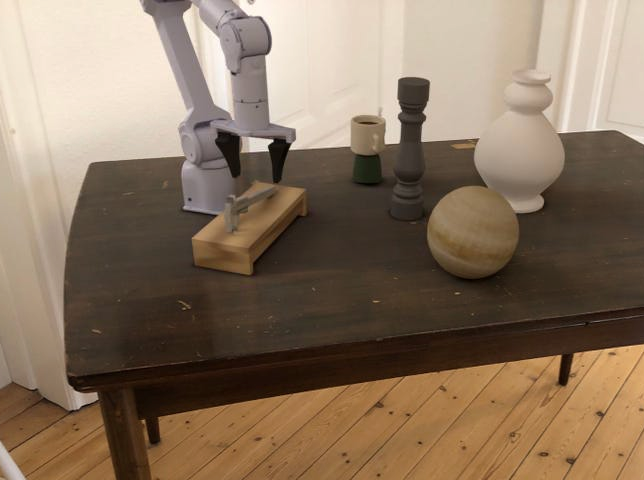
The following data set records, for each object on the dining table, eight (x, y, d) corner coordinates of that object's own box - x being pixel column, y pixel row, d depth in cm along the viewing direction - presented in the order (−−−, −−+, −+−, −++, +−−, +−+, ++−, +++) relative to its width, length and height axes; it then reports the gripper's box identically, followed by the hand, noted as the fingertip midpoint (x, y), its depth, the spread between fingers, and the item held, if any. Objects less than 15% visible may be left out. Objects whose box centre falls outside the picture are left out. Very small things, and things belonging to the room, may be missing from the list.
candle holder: (389, 206, 147) (395, 76, 132) (420, 207, 147) (429, 77, 133) (391, 220, 142) (397, 85, 127) (424, 220, 142) (433, 86, 128)
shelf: (194, 265, 123) (191, 238, 120) (258, 206, 144) (256, 181, 141) (250, 275, 121) (248, 247, 119) (306, 213, 142) (306, 189, 139)
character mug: (392, 188, 154) (395, 126, 147) (360, 192, 152) (361, 129, 144) (372, 170, 162) (374, 110, 155) (342, 174, 160) (342, 113, 152)
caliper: (232, 235, 122) (228, 200, 118) (226, 234, 122) (222, 199, 118) (278, 190, 138) (277, 158, 135) (273, 189, 138) (271, 157, 135)
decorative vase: (458, 207, 148) (470, 78, 133) (484, 178, 161) (498, 57, 147) (545, 225, 143) (568, 93, 128) (564, 193, 156) (587, 70, 142)
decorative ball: (415, 255, 130) (420, 173, 121) (495, 250, 133) (506, 170, 124) (437, 298, 118) (444, 211, 109) (525, 292, 121) (539, 206, 113)
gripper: (198, 100, 119) (207, 181, 127) (283, 109, 116) (287, 192, 124) (217, 89, 125) (225, 168, 132) (299, 98, 122) (302, 177, 129)
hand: (256, 178), depth 128 cm, fingers open, 7 cm apart
